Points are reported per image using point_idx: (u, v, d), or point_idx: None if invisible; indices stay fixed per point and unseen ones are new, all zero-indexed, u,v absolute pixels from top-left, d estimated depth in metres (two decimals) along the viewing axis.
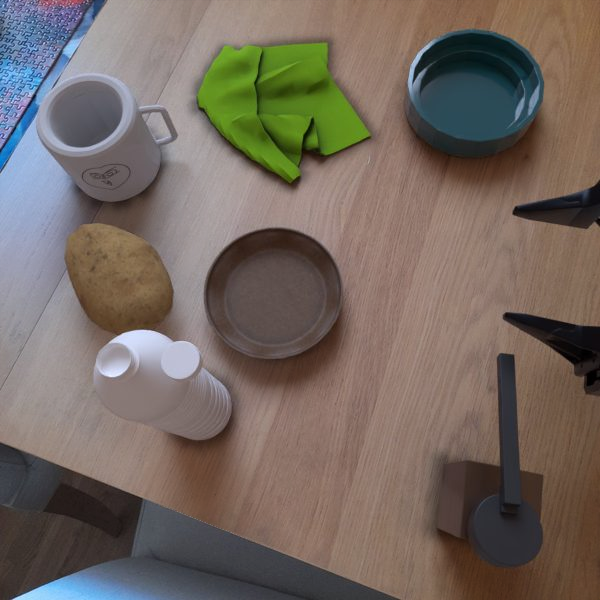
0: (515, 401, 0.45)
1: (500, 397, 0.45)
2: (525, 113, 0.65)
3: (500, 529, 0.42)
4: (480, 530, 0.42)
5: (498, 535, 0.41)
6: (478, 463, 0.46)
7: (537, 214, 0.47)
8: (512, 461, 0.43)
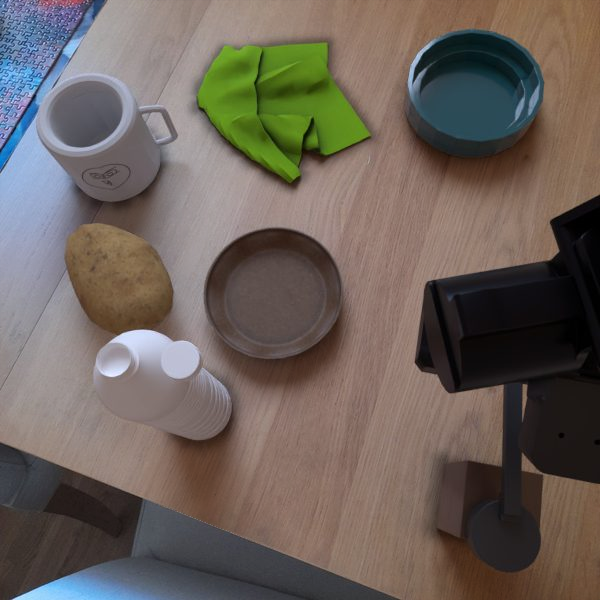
0: (521, 407, 0.43)
1: (505, 402, 0.44)
2: (525, 113, 0.65)
3: (499, 537, 0.42)
4: (478, 537, 0.42)
5: (496, 542, 0.42)
6: (478, 463, 0.46)
7: None
8: (514, 471, 0.42)
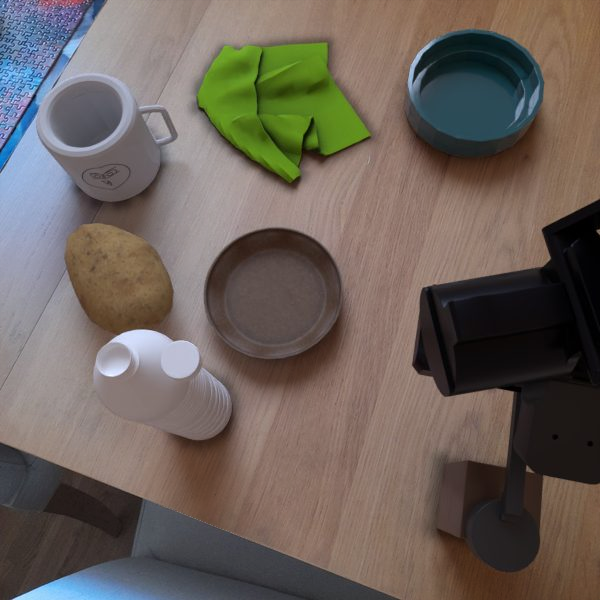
0: None
1: (515, 403, 0.44)
2: (525, 113, 0.65)
3: (498, 536, 0.42)
4: (477, 534, 0.42)
5: (495, 541, 0.42)
6: (478, 463, 0.46)
7: None
8: (518, 471, 0.42)
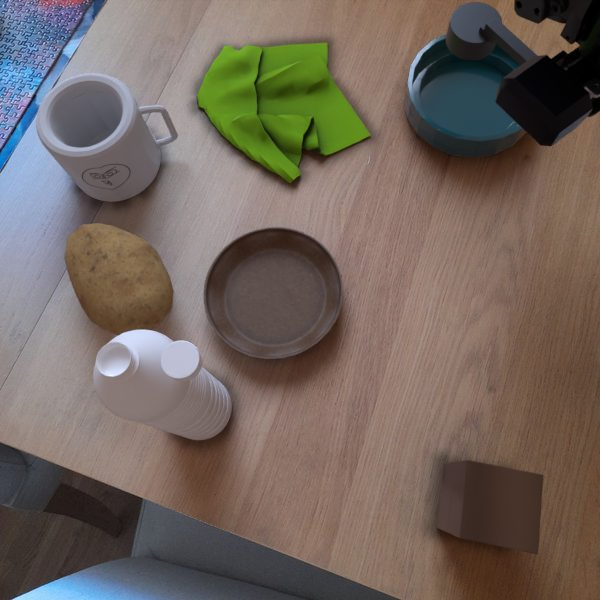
0: None
1: None
2: None
3: (479, 18, 0.55)
4: (489, 8, 0.55)
5: (477, 14, 0.55)
6: (478, 463, 0.46)
7: None
8: (513, 41, 0.52)
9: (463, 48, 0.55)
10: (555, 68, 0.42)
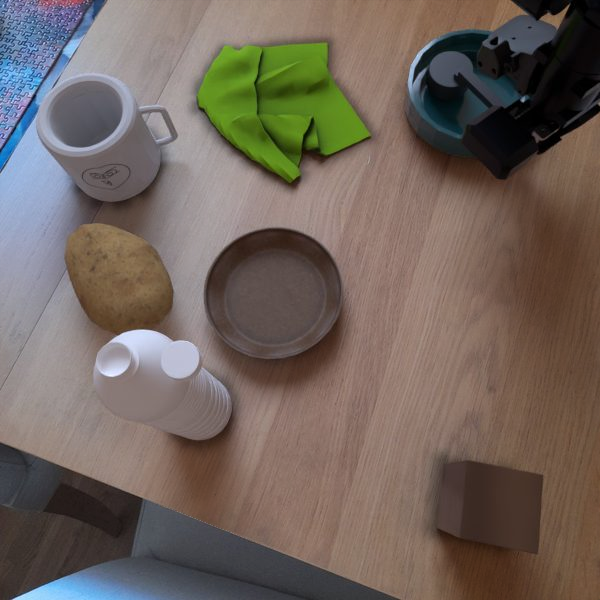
0: None
1: None
2: None
3: (454, 65, 0.65)
4: (462, 57, 0.65)
5: (452, 62, 0.65)
6: (478, 463, 0.46)
7: None
8: (481, 87, 0.62)
9: (440, 90, 0.65)
10: (508, 117, 0.52)
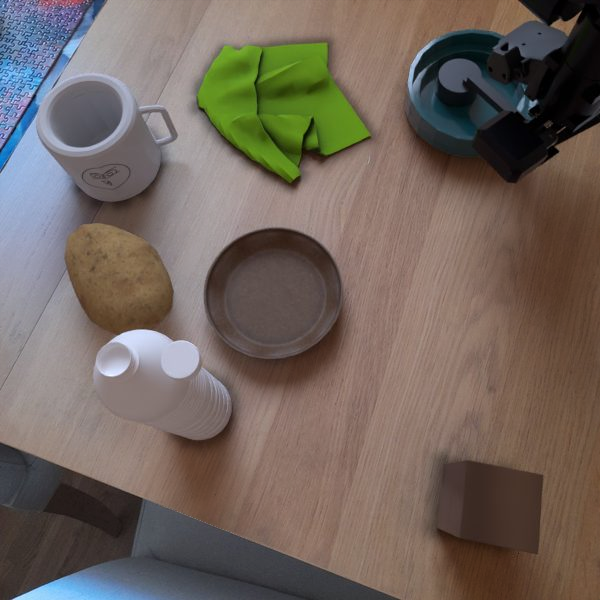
0: None
1: None
2: (525, 113, 0.65)
3: (462, 71, 0.66)
4: (471, 64, 0.66)
5: (461, 69, 0.66)
6: (478, 463, 0.46)
7: None
8: (490, 91, 0.63)
9: (449, 96, 0.66)
10: (518, 122, 0.53)
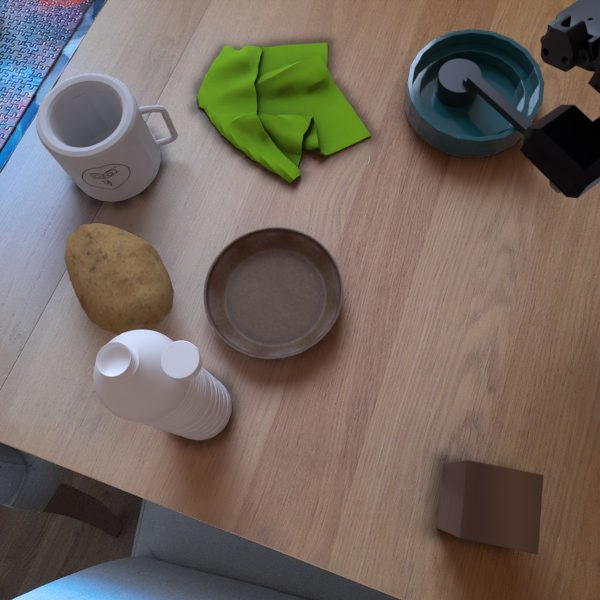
0: (517, 121, 0.62)
1: (526, 119, 0.62)
2: (525, 113, 0.65)
3: (462, 71, 0.66)
4: (471, 64, 0.66)
5: (461, 69, 0.66)
6: (478, 463, 0.46)
7: None
8: (490, 91, 0.63)
9: (449, 96, 0.66)
10: (583, 119, 0.41)
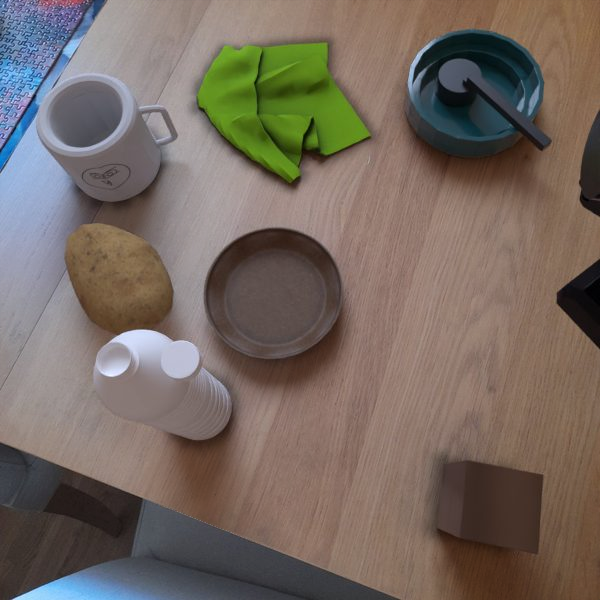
0: (517, 121, 0.62)
1: (526, 119, 0.62)
2: (525, 113, 0.65)
3: (462, 71, 0.66)
4: (471, 64, 0.66)
5: (461, 69, 0.66)
6: (478, 463, 0.46)
7: None
8: (490, 91, 0.63)
9: (449, 96, 0.66)
10: None
